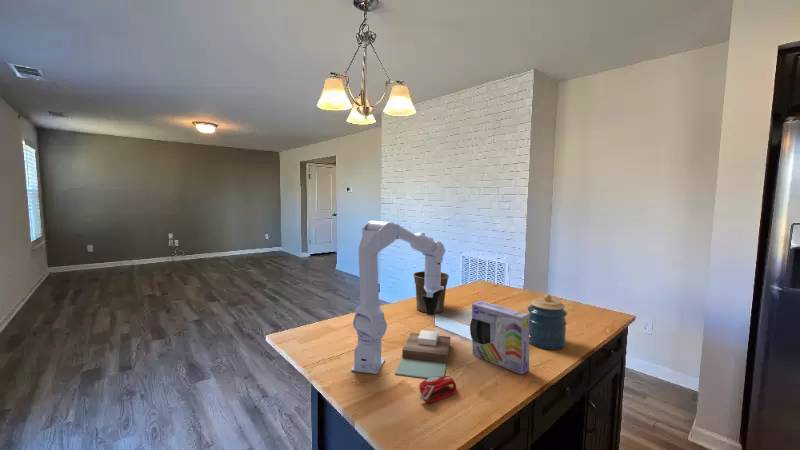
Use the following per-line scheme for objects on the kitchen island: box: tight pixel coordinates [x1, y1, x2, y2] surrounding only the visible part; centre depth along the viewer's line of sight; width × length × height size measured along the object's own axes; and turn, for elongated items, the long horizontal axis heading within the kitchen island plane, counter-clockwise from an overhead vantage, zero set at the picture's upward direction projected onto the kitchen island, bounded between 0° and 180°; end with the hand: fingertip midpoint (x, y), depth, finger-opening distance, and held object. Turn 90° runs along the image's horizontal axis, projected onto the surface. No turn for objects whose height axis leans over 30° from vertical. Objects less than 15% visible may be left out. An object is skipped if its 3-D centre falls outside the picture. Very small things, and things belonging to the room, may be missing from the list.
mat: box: [394, 358, 447, 380], centre depth 104 cm, size 10×14×1 cm
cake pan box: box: [469, 300, 530, 375], centre depth 109 cm, size 19×5×18 cm, turn 40°
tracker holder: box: [418, 375, 457, 403], centre depth 91 cm, size 12×4×10 cm
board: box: [401, 332, 451, 365], centre depth 116 cm, size 14×14×3 cm
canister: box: [527, 293, 568, 351], centre depth 124 cm, size 13×13×18 cm
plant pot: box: [412, 270, 450, 314], centre depth 159 cm, size 16×16×16 cm
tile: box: [418, 329, 439, 346], centre depth 117 cm, size 7×6×2 cm
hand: (431, 311), depth 125 cm, fingers open, 7 cm apart
